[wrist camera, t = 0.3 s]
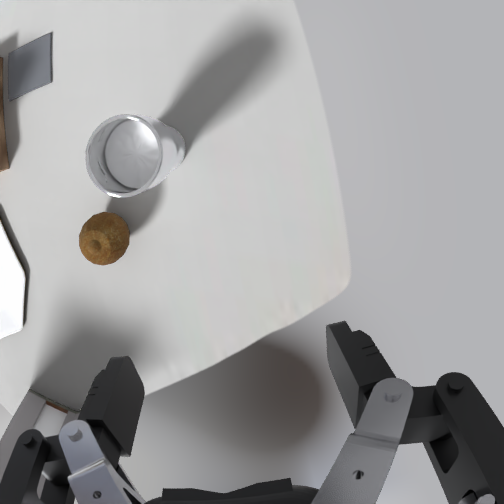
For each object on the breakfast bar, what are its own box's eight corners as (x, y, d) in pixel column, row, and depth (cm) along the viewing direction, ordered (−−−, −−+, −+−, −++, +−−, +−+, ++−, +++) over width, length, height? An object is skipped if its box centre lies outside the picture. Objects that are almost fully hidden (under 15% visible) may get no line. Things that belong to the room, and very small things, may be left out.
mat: (9, 54, 28) (8, 53, 27) (51, 33, 28) (50, 33, 28) (9, 101, 30) (8, 101, 30) (51, 82, 31) (50, 82, 30)
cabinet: (32, 422, 52) (-6, 510, 26) (7, 393, 48) (-42, 481, 22) (90, 415, 51) (53, 529, 24) (60, 382, 47) (6, 498, 21)
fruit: (86, 230, 38) (60, 251, 31) (111, 196, 37) (86, 209, 30) (119, 260, 40) (99, 286, 33) (146, 227, 39) (128, 247, 31)
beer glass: (159, 188, 37) (121, 218, 23) (123, 149, 35) (67, 157, 21) (201, 150, 36) (184, 156, 22) (164, 110, 34) (126, 93, 20)
